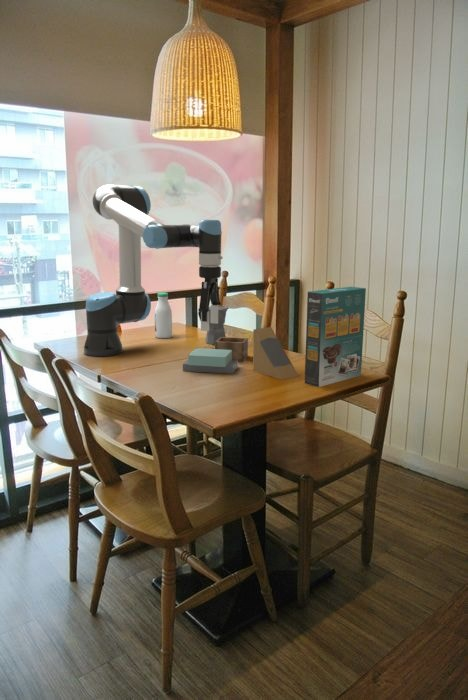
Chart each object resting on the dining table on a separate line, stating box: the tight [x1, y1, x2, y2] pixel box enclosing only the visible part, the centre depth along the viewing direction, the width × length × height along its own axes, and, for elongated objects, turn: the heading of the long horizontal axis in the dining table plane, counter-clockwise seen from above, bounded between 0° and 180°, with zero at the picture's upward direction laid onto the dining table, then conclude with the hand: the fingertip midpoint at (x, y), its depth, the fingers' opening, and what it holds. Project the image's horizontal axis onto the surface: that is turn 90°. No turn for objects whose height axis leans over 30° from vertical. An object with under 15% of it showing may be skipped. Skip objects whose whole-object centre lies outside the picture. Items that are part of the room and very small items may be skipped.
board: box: [182, 359, 239, 375], centre depth 201 cm, size 18×9×2 cm, turn 79°
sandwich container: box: [252, 326, 300, 381], centre depth 194 cm, size 9×15×15 cm, turn 38°
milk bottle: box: [154, 292, 173, 339], centre depth 253 cm, size 8×8×20 cm
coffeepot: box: [197, 305, 230, 346], centre depth 242 cm, size 15×9×18 cm, turn 126°
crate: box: [214, 336, 249, 362], centre depth 217 cm, size 11×9×7 cm
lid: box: [187, 347, 232, 367], centre depth 200 cm, size 13×11×4 cm
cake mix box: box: [304, 286, 367, 388], centre depth 185 cm, size 22×6×30 cm, turn 130°
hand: (209, 326), depth 198 cm, fingers open, 13 cm apart
